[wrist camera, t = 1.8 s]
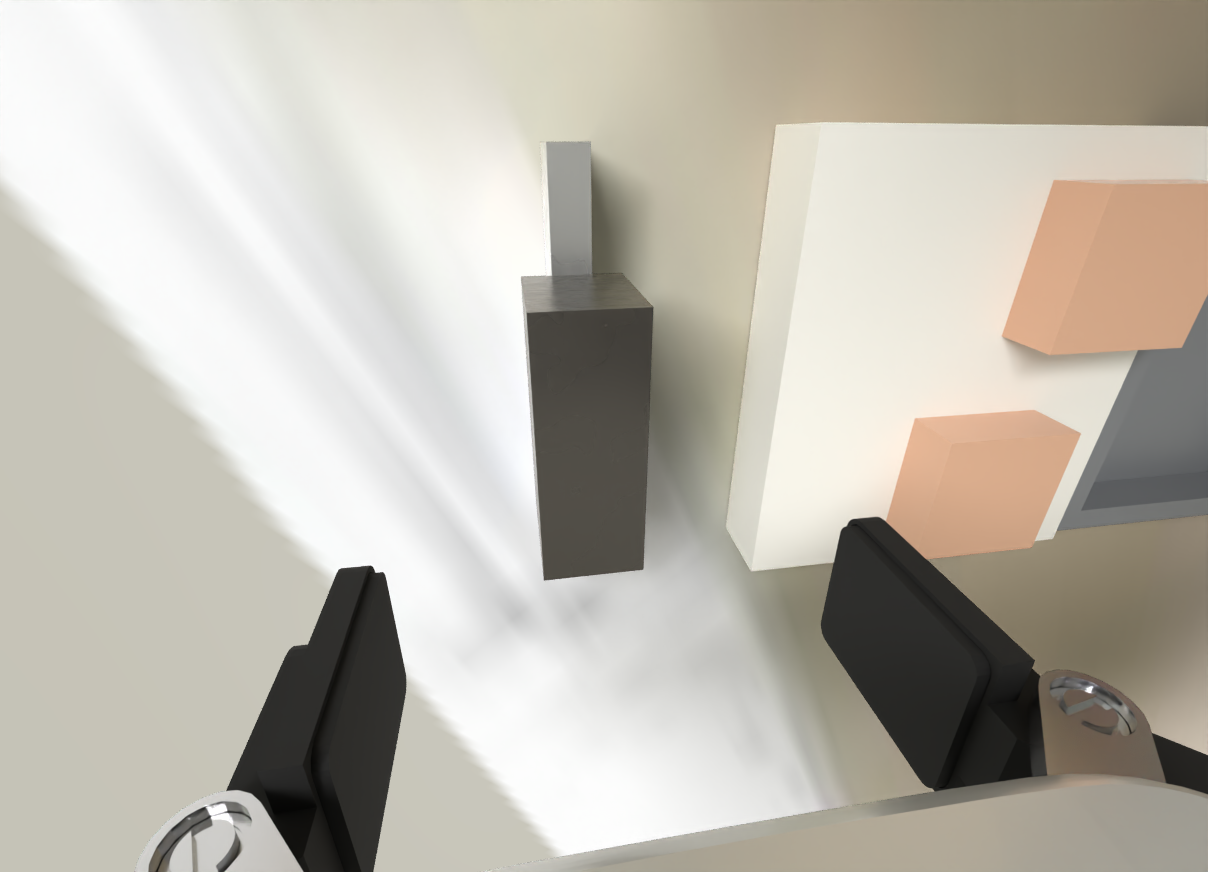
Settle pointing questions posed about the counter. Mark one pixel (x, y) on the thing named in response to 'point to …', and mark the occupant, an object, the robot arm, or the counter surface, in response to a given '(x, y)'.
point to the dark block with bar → (585, 386)
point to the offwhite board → (908, 310)
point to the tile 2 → (1114, 267)
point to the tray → (1151, 441)
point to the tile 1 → (979, 481)
